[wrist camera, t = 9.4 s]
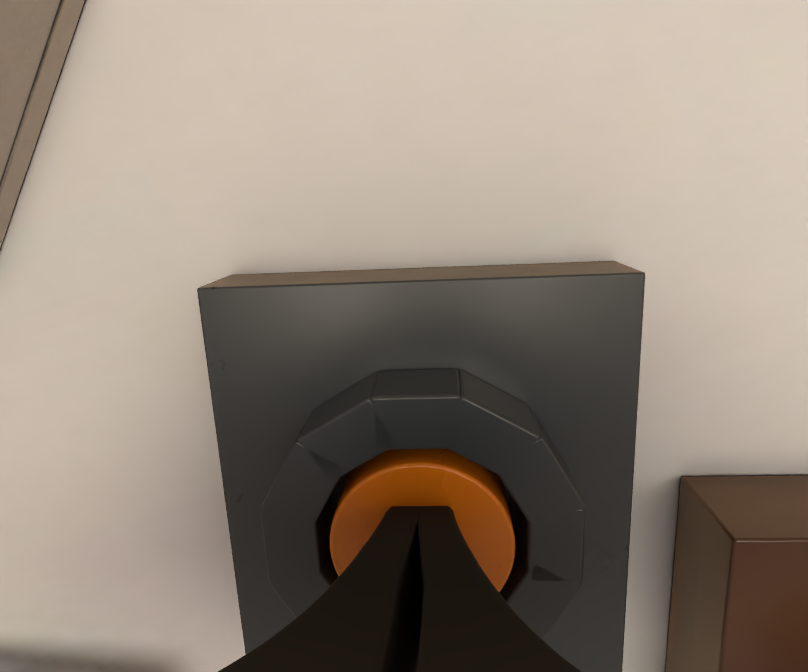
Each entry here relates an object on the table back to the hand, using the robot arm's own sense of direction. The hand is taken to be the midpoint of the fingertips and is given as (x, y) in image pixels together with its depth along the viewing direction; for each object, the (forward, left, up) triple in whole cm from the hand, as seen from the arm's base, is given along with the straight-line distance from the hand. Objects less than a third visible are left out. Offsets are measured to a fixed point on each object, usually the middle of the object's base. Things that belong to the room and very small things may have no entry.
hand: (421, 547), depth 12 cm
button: (0, 0, -2) cm, 2 cm away
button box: (0, 0, -4) cm, 4 cm away
